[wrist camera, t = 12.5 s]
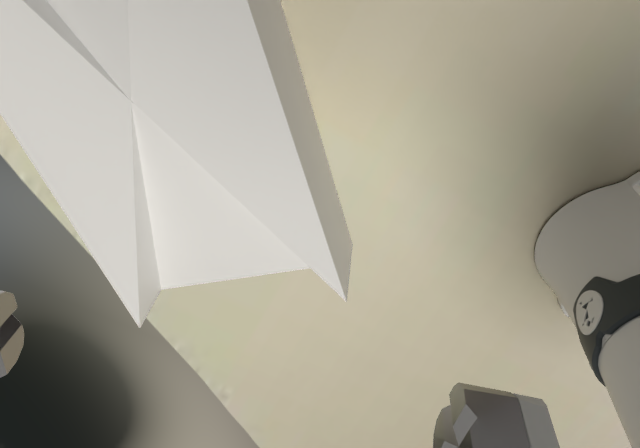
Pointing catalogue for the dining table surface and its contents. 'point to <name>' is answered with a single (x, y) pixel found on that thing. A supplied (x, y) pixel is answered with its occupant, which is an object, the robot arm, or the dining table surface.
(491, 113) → the dining table surface
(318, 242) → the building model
